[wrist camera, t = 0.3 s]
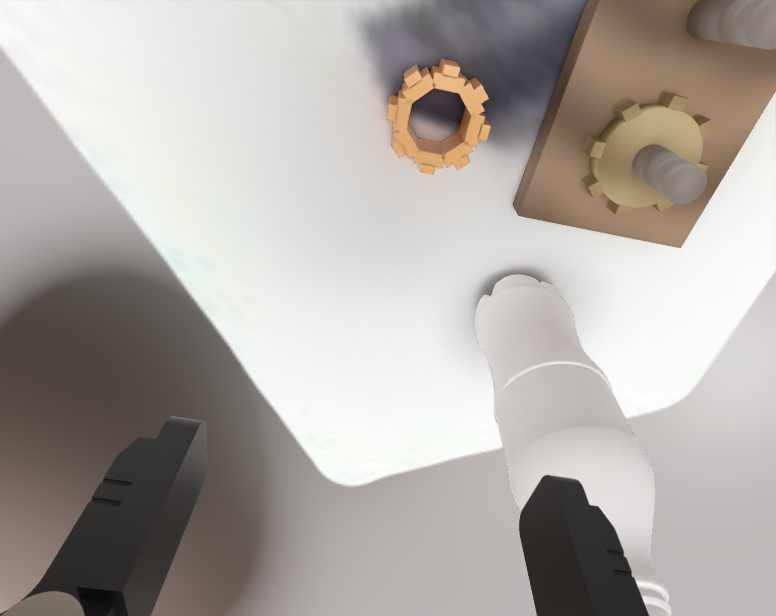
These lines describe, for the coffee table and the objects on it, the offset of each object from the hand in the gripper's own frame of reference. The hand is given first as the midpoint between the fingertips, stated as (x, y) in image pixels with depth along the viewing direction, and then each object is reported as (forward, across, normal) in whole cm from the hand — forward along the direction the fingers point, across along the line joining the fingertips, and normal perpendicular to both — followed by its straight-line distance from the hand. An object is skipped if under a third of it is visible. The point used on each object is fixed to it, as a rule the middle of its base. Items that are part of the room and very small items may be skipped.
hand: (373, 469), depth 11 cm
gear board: (+26, -15, -11) cm, 32 cm away
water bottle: (+26, -12, +10) cm, 30 cm away
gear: (+26, -2, -3) cm, 26 cm away
